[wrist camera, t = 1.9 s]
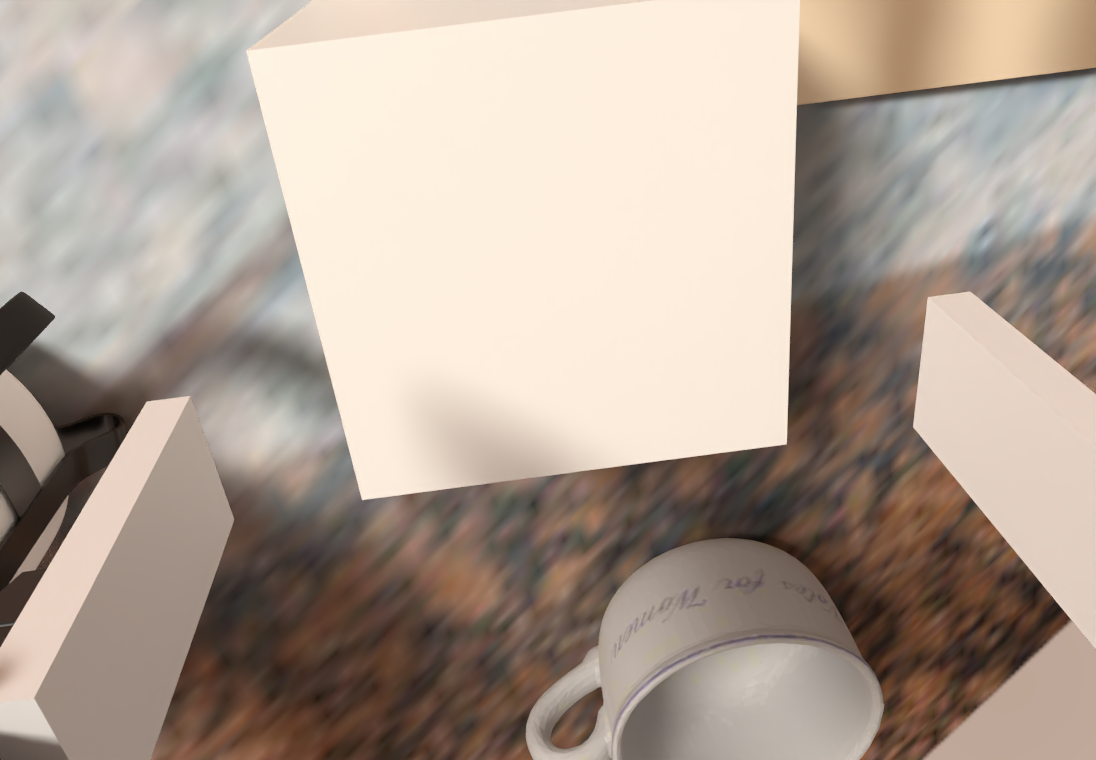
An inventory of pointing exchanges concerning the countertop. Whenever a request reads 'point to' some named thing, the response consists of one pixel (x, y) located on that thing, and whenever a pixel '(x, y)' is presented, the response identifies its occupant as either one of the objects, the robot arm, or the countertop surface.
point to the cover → (541, 227)
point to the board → (936, 43)
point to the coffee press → (39, 450)
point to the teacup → (719, 665)
